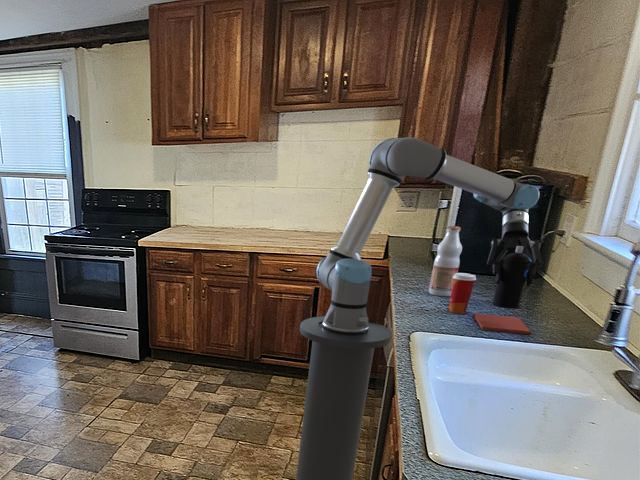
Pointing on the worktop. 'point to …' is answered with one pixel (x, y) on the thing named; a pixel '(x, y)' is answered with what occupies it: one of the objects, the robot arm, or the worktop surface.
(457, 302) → the paper cup
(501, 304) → the aerosol can
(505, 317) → the pad
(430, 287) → the fruit juice
